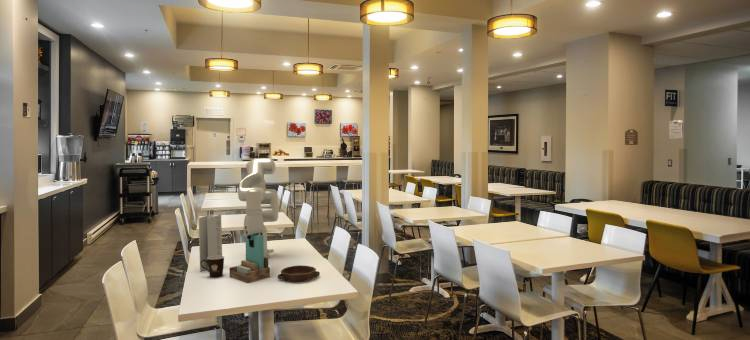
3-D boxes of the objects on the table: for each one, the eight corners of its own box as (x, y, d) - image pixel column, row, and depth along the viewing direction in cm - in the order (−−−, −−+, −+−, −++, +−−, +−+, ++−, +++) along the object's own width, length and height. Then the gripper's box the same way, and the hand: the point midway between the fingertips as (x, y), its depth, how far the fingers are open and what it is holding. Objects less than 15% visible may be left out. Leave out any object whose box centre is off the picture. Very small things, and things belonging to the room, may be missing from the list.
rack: (252, 271, 259) (251, 253, 258) (270, 276, 248) (269, 258, 247) (229, 276, 248) (229, 258, 248) (247, 282, 237) (247, 263, 237)
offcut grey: (240, 276, 250) (240, 265, 249) (251, 280, 243) (251, 268, 243) (237, 277, 248) (236, 266, 248) (248, 280, 241) (247, 269, 241)
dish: (275, 276, 250) (275, 267, 249) (315, 272, 257) (315, 263, 257) (279, 285, 233) (279, 276, 233) (323, 281, 240) (322, 271, 240)
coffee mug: (228, 274, 253) (227, 256, 252) (217, 278, 245) (217, 260, 244) (210, 272, 257) (209, 254, 256) (199, 276, 249) (199, 258, 248)
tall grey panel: (209, 272, 258) (207, 218, 256) (199, 271, 259) (198, 217, 257) (222, 265, 271) (221, 214, 270) (213, 265, 273) (212, 214, 271)
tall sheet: (251, 272, 256) (250, 232, 254) (264, 276, 248) (263, 235, 247) (246, 273, 254) (245, 233, 252) (259, 277, 246) (258, 236, 244)
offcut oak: (244, 274, 253) (244, 260, 252) (257, 278, 245) (257, 263, 244) (241, 275, 251) (241, 260, 251) (254, 279, 243) (254, 264, 243)
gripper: (262, 209, 257) (263, 242, 258) (236, 213, 245) (237, 248, 246) (270, 211, 252) (271, 244, 254) (244, 215, 240) (245, 250, 241)
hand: (254, 246), depth 250 cm, fingers closed on tall sheet, 3 cm apart
